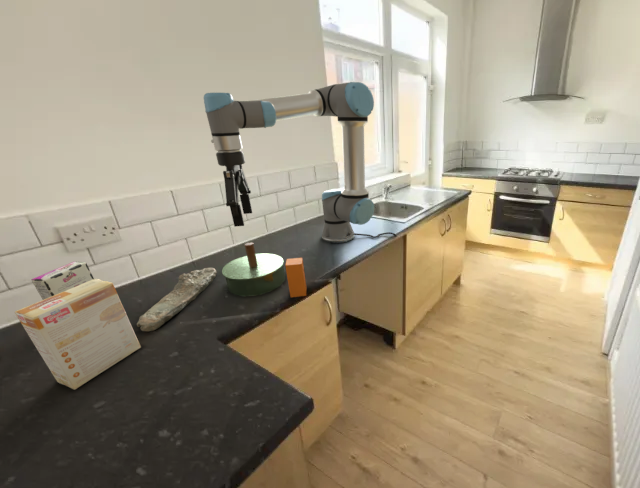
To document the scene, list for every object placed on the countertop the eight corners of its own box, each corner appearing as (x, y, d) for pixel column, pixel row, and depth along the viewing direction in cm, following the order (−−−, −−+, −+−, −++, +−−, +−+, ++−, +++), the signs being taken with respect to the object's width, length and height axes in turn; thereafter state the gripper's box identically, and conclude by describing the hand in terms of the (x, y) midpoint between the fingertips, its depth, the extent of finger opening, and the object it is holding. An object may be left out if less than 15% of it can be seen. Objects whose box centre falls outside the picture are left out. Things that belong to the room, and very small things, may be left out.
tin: (287, 268, 123) (284, 253, 120) (282, 293, 106) (279, 276, 103) (235, 273, 120) (231, 258, 117) (222, 300, 103) (217, 282, 100)
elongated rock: (129, 336, 89) (164, 338, 89) (122, 321, 87) (158, 323, 86) (198, 272, 120) (224, 273, 120) (195, 260, 118) (221, 261, 117)
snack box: (306, 289, 108) (302, 257, 103) (306, 296, 104) (301, 263, 99) (291, 290, 107) (286, 258, 102) (290, 298, 103) (285, 265, 98)
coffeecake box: (124, 341, 85) (95, 277, 77) (142, 347, 83) (114, 282, 75) (55, 382, 72) (12, 310, 64) (74, 390, 70) (31, 317, 62)
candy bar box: (96, 307, 101) (73, 260, 94) (109, 308, 100) (87, 261, 93) (57, 329, 91) (29, 278, 84) (71, 330, 90) (44, 280, 83)
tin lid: (286, 254, 121) (282, 231, 117) (280, 278, 103) (276, 252, 99) (230, 259, 118) (225, 236, 114) (215, 285, 100) (208, 259, 96)
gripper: (226, 147, 105) (240, 209, 114) (202, 156, 83) (221, 233, 91) (250, 146, 106) (261, 208, 115) (232, 155, 84) (248, 230, 93)
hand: (244, 219), depth 103 cm, fingers open, 13 cm apart
